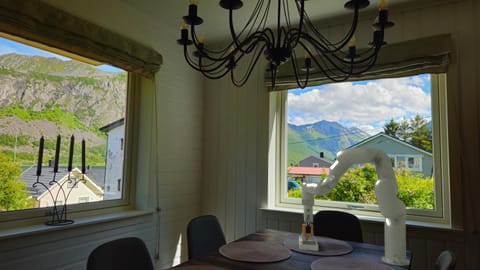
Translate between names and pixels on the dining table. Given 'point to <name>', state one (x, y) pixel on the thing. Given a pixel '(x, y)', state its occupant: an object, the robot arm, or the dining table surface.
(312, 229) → the breaker lever
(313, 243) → the breaker panel
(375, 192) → the robot arm
